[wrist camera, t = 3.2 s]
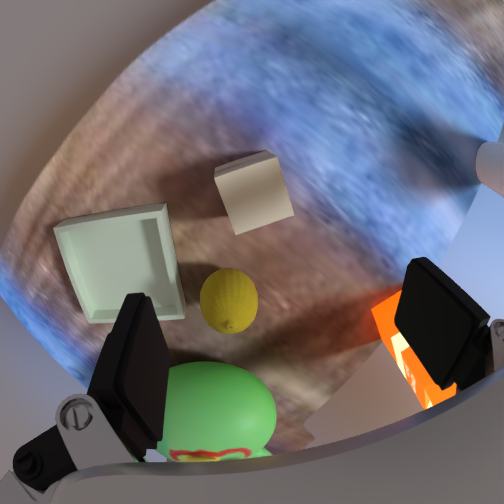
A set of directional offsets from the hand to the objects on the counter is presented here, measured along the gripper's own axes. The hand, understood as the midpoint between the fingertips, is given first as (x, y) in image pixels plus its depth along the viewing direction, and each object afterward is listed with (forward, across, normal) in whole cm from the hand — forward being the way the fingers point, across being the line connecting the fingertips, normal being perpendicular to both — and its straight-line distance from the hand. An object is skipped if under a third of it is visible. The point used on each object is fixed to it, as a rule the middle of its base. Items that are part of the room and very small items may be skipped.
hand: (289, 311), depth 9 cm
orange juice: (+19, -21, +19) cm, 34 cm away
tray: (+18, +14, +7) cm, 24 cm away
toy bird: (+19, +8, +27) cm, 34 cm away
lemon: (+19, +2, +10) cm, 21 cm away
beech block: (+19, -1, 0) cm, 19 cm away
